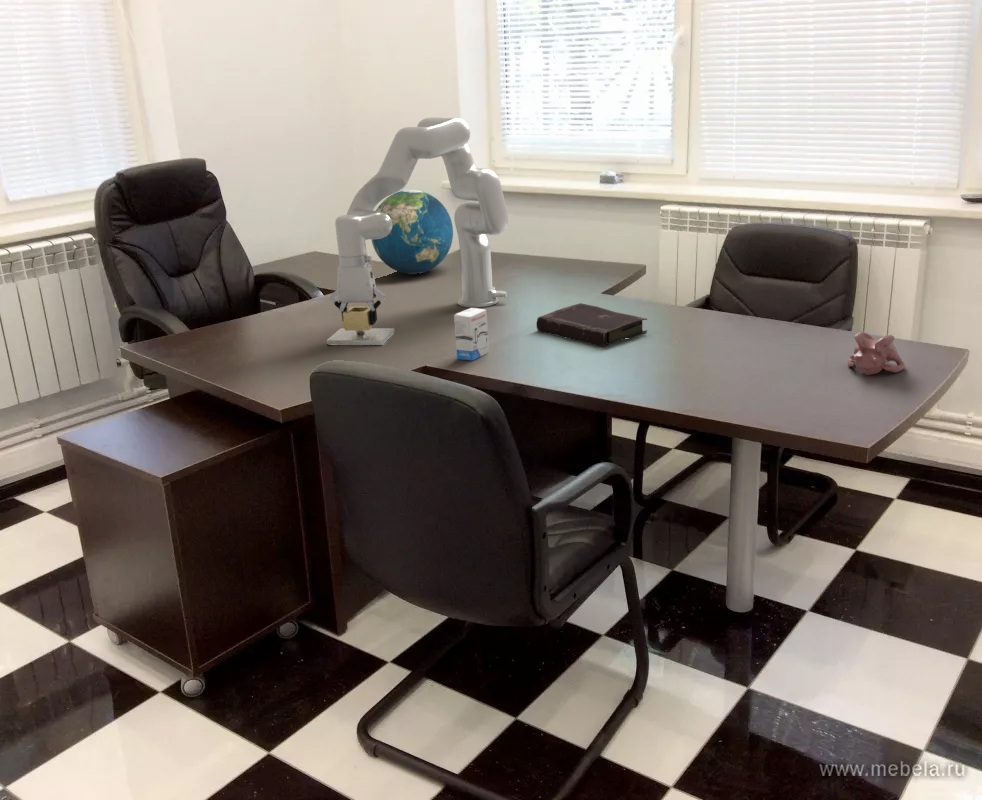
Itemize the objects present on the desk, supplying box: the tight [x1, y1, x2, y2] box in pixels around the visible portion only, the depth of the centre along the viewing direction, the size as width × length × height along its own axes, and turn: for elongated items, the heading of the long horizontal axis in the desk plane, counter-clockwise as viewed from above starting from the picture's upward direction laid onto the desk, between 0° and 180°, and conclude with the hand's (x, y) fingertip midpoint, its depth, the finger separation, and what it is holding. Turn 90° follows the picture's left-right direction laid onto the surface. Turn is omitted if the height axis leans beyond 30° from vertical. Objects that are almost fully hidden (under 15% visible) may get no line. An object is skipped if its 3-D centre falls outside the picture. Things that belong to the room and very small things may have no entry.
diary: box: [535, 302, 648, 348], centre depth 257 cm, size 19×25×5 cm
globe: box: [370, 189, 454, 275], centre depth 337 cm, size 30×30×30 cm
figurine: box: [847, 331, 906, 376], centre depth 213 cm, size 12×10×15 cm
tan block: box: [342, 305, 377, 331], centre depth 261 cm, size 7×7×5 cm
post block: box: [326, 327, 395, 346], centre depth 261 cm, size 16×12×8 cm
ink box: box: [453, 307, 490, 361], centre depth 240 cm, size 9×5×12 cm, turn 148°
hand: (360, 323), depth 261 cm, fingers closed on tan block, 7 cm apart
